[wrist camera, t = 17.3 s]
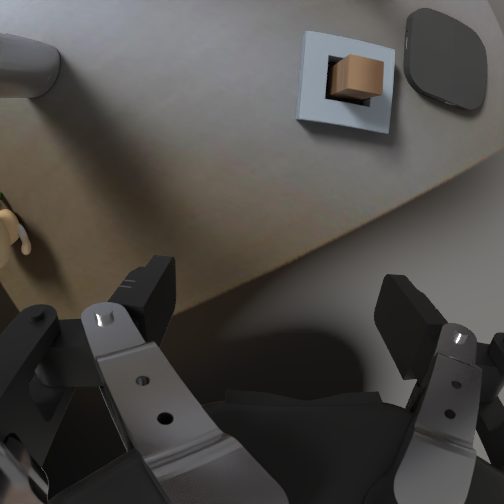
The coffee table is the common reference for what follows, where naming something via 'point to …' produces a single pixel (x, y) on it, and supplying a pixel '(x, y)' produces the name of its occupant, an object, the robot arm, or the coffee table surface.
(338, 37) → the socket
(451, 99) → the media streaming box
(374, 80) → the peg
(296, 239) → the coffee table surface
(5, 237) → the kitten
